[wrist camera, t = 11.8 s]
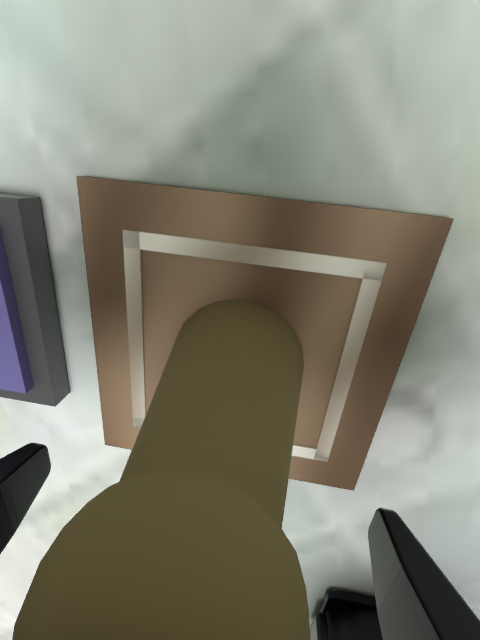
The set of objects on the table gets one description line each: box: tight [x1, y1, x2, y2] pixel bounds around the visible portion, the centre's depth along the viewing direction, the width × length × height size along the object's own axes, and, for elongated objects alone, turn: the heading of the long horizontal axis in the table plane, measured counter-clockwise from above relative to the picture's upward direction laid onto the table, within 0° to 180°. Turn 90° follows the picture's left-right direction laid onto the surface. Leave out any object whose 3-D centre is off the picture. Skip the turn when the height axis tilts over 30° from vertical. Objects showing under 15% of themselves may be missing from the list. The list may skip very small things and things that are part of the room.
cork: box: [12, 299, 311, 640], centre depth 9 cm, size 6×6×11 cm
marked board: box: [77, 176, 453, 490], centre depth 14 cm, size 14×14×1 cm
